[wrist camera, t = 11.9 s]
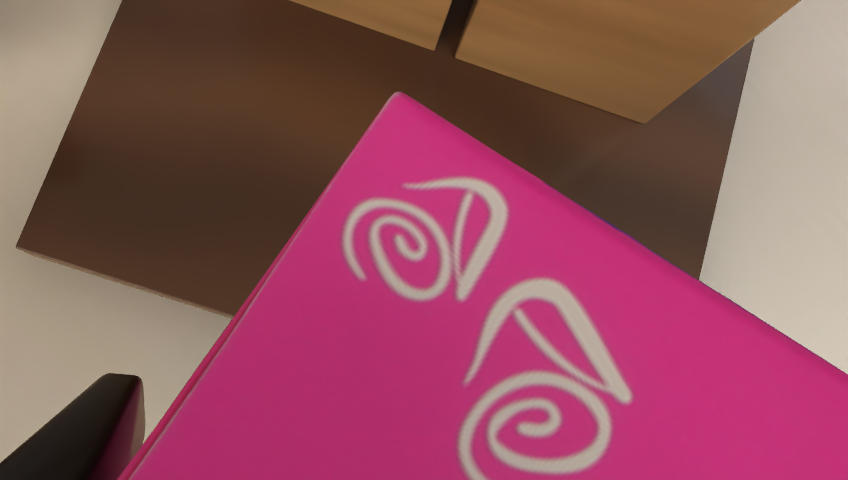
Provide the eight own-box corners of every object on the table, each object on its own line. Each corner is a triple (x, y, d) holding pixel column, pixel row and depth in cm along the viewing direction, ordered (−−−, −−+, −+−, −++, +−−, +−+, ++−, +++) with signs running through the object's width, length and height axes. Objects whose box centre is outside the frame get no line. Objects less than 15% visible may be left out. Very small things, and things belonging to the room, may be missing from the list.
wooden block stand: (641, 448, 22) (1009, 525, 10) (31, 255, 21) (-344, 90, 9) (747, 0, 25) (1122, -334, 14) (222, -193, 24) (128, -746, 12)
